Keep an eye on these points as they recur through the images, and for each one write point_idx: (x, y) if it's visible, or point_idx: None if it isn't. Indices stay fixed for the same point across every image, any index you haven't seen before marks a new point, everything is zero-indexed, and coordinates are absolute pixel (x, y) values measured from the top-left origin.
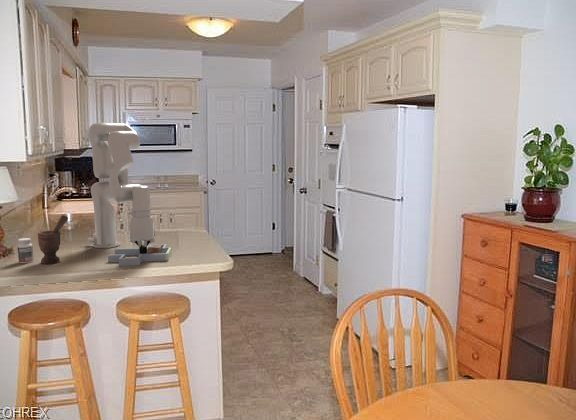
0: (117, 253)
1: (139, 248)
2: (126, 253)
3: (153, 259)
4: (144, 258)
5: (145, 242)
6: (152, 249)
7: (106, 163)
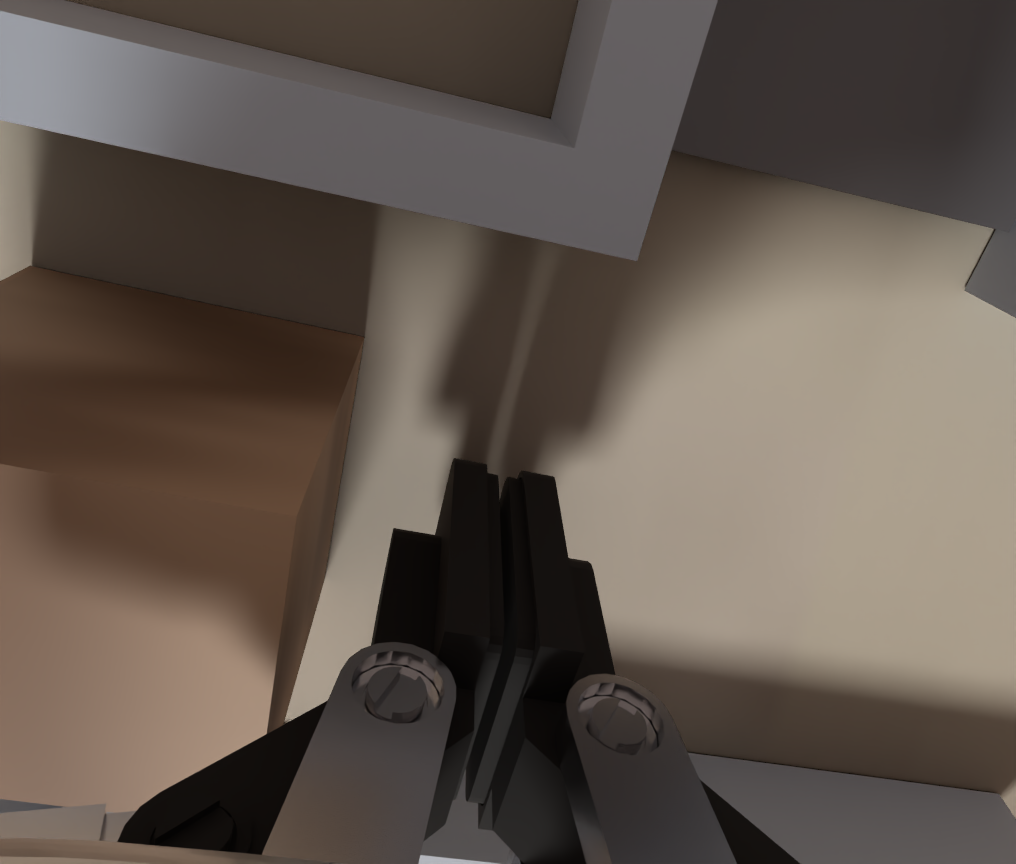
0: (977, 827)
1: (610, 663)
2: (811, 804)
3: (168, 27)
4: (468, 110)
5: (363, 812)
6: (123, 443)
7: None
